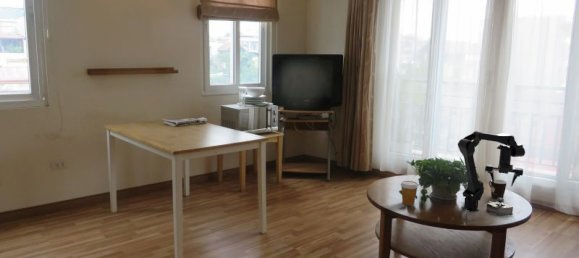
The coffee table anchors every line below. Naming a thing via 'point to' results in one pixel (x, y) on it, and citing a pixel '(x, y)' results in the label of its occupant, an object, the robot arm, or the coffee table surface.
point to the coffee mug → (497, 188)
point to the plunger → (500, 200)
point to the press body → (499, 208)
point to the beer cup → (409, 192)
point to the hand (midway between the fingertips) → (502, 185)
